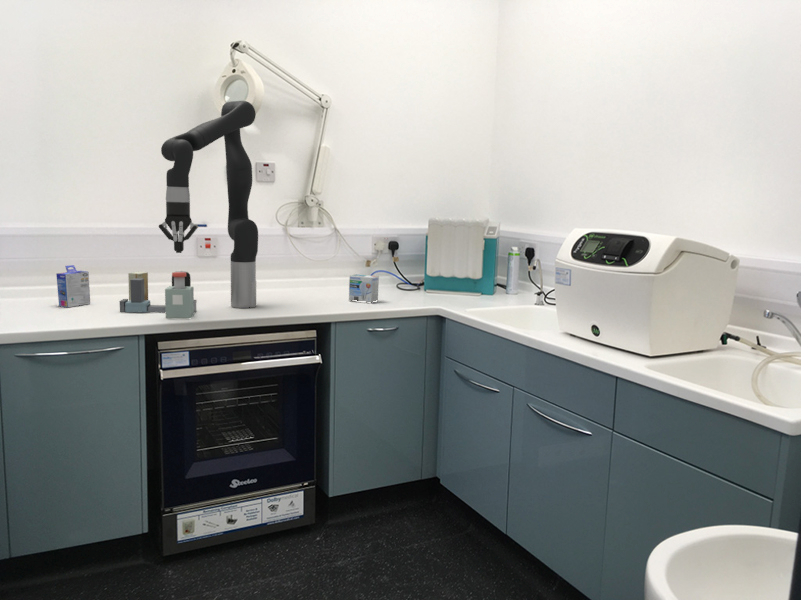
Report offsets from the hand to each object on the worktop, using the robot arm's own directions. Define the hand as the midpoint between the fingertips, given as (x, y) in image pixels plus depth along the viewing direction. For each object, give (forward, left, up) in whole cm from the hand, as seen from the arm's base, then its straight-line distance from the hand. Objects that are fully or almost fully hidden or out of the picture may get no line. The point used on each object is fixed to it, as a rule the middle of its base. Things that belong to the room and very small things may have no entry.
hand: (178, 252), depth 218 cm
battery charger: (+6, -34, -22) cm, 41 cm away
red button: (0, 0, -17) cm, 17 cm away
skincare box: (+19, -22, -22) cm, 37 cm away
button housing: (0, 0, -22) cm, 22 cm away
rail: (+9, -9, -22) cm, 26 cm away
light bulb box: (-66, -37, -22) cm, 79 cm away
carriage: (+16, -9, -22) cm, 29 cm away
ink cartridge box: (+41, -20, -22) cm, 51 cm away
